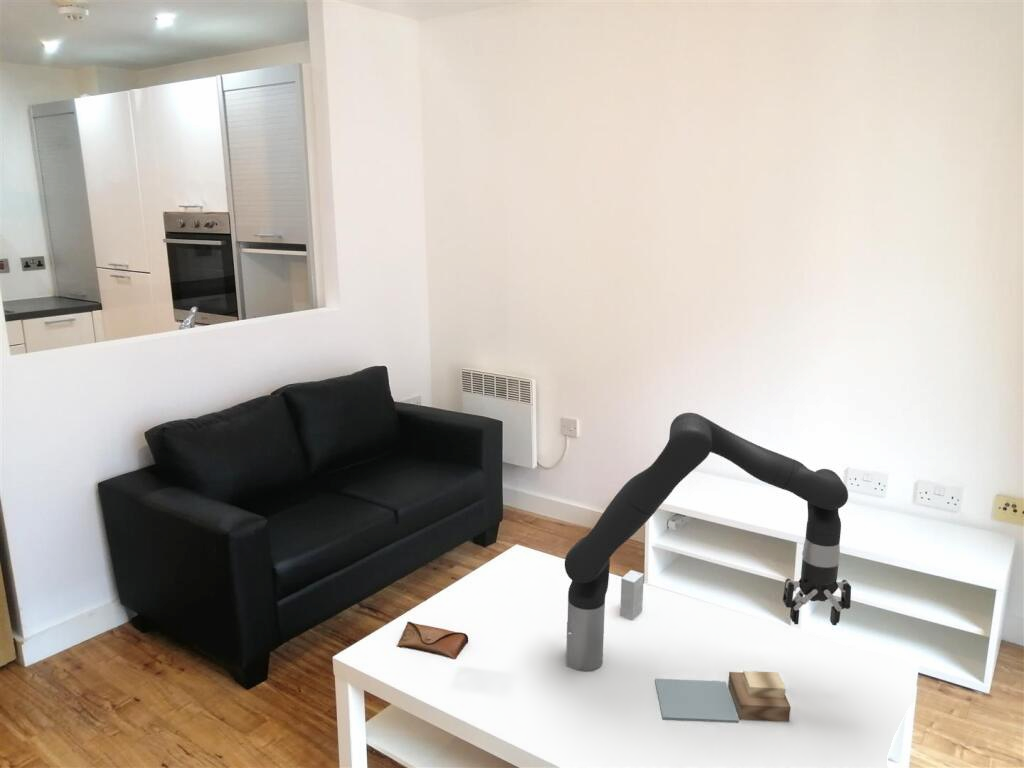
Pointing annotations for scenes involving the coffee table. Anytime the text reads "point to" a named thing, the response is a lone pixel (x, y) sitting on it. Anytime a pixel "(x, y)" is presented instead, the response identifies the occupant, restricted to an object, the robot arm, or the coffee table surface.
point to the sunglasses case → (433, 640)
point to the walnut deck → (756, 703)
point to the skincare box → (631, 594)
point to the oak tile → (763, 684)
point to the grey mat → (695, 700)
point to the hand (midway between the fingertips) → (814, 623)
